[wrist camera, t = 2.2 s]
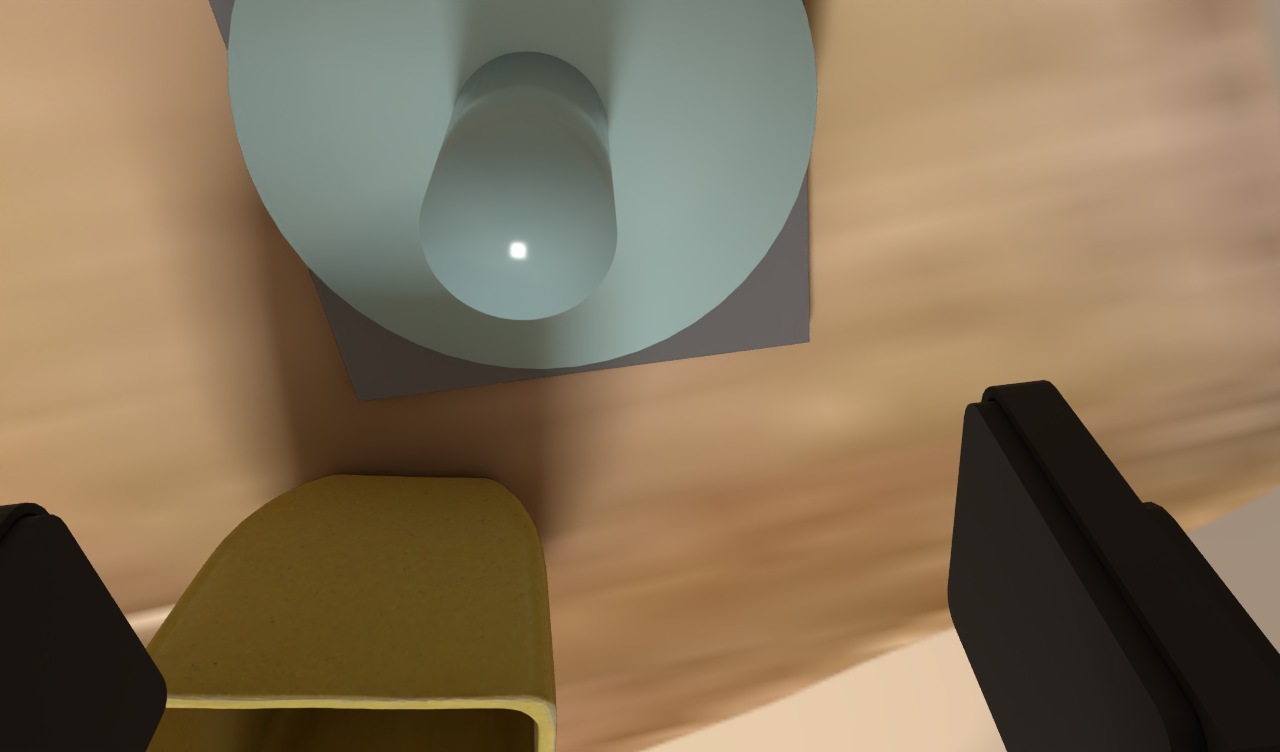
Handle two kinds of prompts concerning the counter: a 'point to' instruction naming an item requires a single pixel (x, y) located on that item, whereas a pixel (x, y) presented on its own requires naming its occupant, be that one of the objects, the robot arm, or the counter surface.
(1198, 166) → the counter surface
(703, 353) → the mat
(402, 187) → the lid
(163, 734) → the flower pot
